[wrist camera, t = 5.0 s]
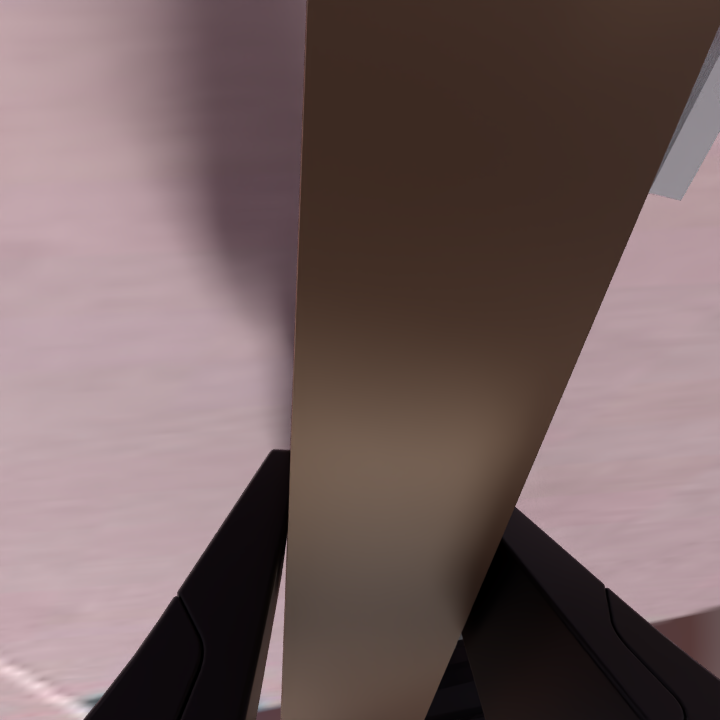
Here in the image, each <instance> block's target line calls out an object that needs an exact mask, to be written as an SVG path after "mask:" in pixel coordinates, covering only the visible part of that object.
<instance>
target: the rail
mask: <svg viewBox="0 0 720 720" xmlns="http://www.w3.org/2000/svg"><path fill="white" fill-rule="evenodd" d="M719 26H720V0H307V1H306V29H305V56H304V84H303V112H302V139H301V167H300V195H299V222H298V250H297V278H296V306H295V333H294V361H293V389H292V416H291V444H290V481H289V513H288V533H287V555H286V583H285V610H284V638H283V666H282V695H281V720H424V719H425V717H426V715H427V712H428V710H429V708H430V705H431V703H432V700H433V698H434V696H435V693H436V691H437V689H438V686H439V684H440V682H441V679H442V677H443V675H444V672H445V670H446V668H447V665H448V663H449V661H450V658H451V656H452V653H453V651H454V649H455V646H456V644H457V642H458V639H459V637H460V635H461V632H462V630H463V628H464V625H465V623H466V621H467V618H468V616H469V613H470V611H471V609H472V606H473V604H474V602H475V599H476V597H477V595H478V592H479V590H480V588H481V585H482V583H483V581H484V578H485V576H486V574H487V571H488V569H489V566H490V564H491V562H492V559H493V557H494V555H495V552H496V550H497V548H498V545H499V543H500V541H501V538H502V536H503V534H504V531H505V529H506V527H507V524H508V522H509V519H510V517H511V515H512V512H513V510H514V508H515V505H516V503H517V501H518V498H519V496H520V494H521V491H522V489H523V487H524V484H525V482H526V479H527V477H528V475H529V472H530V470H531V468H532V465H533V463H534V461H535V458H536V456H537V454H538V451H539V449H540V447H541V444H542V442H543V440H544V437H545V435H546V432H547V430H548V428H549V425H550V423H551V421H552V418H553V416H554V414H555V411H556V409H557V407H558V404H559V402H560V400H561V397H562V395H563V392H564V390H565V388H566V385H567V383H568V381H569V378H570V376H571V374H572V371H573V369H574V367H575V364H576V362H577V360H578V357H579V355H580V353H581V350H582V348H583V345H584V343H585V341H586V338H587V336H588V334H589V331H590V329H591V327H592V324H593V322H594V320H595V317H596V315H597V313H598V310H599V308H600V306H601V303H602V301H603V298H604V296H605V294H606V291H607V289H608V287H609V284H610V282H611V280H612V277H613V275H614V273H615V270H616V268H617V266H618V263H619V261H620V258H621V256H622V254H623V251H624V249H625V247H626V244H627V242H628V240H629V237H630V235H631V233H632V230H633V228H634V226H635V223H636V221H637V219H638V216H639V214H640V211H641V209H642V207H643V204H644V202H645V200H646V197H647V195H648V193H649V190H650V188H651V186H652V183H653V181H654V179H655V176H656V174H657V172H658V169H659V167H660V164H661V162H662V160H663V157H664V155H665V153H666V150H667V148H668V146H669V143H670V141H671V139H672V136H673V134H674V132H675V129H676V127H677V124H678V122H679V120H680V117H681V115H682V113H683V110H684V108H685V106H686V103H687V101H688V99H689V96H690V94H691V92H692V89H693V87H694V85H695V82H696V80H697V77H698V75H699V73H700V70H701V68H702V66H703V63H704V61H705V59H706V56H707V54H708V52H709V49H710V47H711V45H712V42H713V40H714V37H715V35H716V33H717V30H718V28H719Z"/></svg>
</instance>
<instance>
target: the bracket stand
mask: <svg viewBox="0 0 720 720" xmlns="http://www.w3.org/2000/svg"><path fill="white" fill-rule="evenodd" d="M719 132H720V26H719V28H718V30H717V33H716V35H715V37H714V40H713V42H712V45H711V47H710V49H709V52H708V54H707V56H706V59H705V61H704V63H703V66H702V68H701V70H700V73H699V75H698V77H697V80H696V82H695V85H694V87H693V89H692V92H691V94H690V96H689V99H688V101H687V103H686V106H685V108H684V110H683V113H682V115H681V117H680V120H679V122H678V124H677V127H676V129H675V132H674V134H673V136H672V139H671V141H670V143H669V146H668V148H667V150H666V153H665V155H664V157H663V160H662V162H661V164H660V167H659V169H658V172H657V174H656V176H655V179H654V181H653V183H652V186H651V188H650V190H649V194H653V195H658V196H662V197H667V198H671V199H676V200H680V201H681V200H682V198H683V196H684V194H685V193H686V191H687V189H688V187H689V185H690V184H691V182H692V180H693V178H694V176H695V175H696V173H697V171H698V169H699V168H700V166H701V164H702V162H703V160H704V159H705V157H706V155H707V153H708V151H709V150H710V148H711V146H712V144H713V142H714V141H715V139H716V137H717V135H718V133H719Z"/></svg>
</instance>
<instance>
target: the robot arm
mask: <svg viewBox="0 0 720 720" xmlns="http://www.w3.org/2000/svg"><path fill="white" fill-rule="evenodd" d="M289 481H290V450H279V449H273V450H271V451H270V453H269V454H268V456H267V457H266V459H265V460H264V462H263V463H262V465H261V466H260V468H259V469H258V471H257V472H256V474H255V475H254V477H253V478H252V480H251V481H250V483H249V484H248V486H247V487H246V489H245V490H244V492H243V493H242V495H241V496H240V498H239V500H238V501H237V503H236V504H235V506H234V507H233V509H232V510H231V512H230V513H229V515H228V516H227V518H226V519H225V521H224V522H223V524H222V525H221V527H220V528H219V530H218V531H217V533H216V534H215V536H214V537H213V539H212V540H211V542H210V543H209V545H208V546H207V548H206V550H205V551H204V553H203V554H202V556H201V557H200V559H199V560H198V562H197V563H196V565H195V566H194V568H193V569H192V571H191V572H190V574H189V575H188V577H187V578H186V580H185V581H184V583H183V584H182V586H181V587H180V589H179V590H178V592H177V596H175V597H174V598H173V599H172V601H171V602H170V604H169V605H168V607H167V608H166V610H165V611H164V613H163V614H162V616H161V617H160V619H159V620H158V622H157V623H156V625H155V626H154V627H153V629H152V630H151V632H150V633H149V635H148V636H147V637H146V639H145V640H144V642H143V643H142V645H141V646H140V647H139V649H138V650H137V652H136V653H135V655H134V656H133V657H132V659H131V660H130V661H129V662H128V664H127V665H126V666H125V668H124V669H123V670H122V671H121V673H120V674H119V675H118V677H117V678H116V679H115V680H114V682H113V683H112V684H111V686H110V687H109V688H108V690H107V691H106V692H105V693H104V695H103V696H102V697H101V699H100V700H99V701H98V702H97V703H96V705H95V706H94V707H93V708H92V710H91V711H90V712H89V713H88V715H87V716H86V717H85V718H84V720H256V716H257V710H258V705H259V699H260V694H261V688H262V682H263V677H264V671H265V666H266V660H267V654H268V649H269V643H270V638H271V632H272V626H273V621H274V615H275V610H276V604H277V598H278V593H279V587H280V582H281V576H282V569H283V562H284V555H285V547H286V540H287V533H288V513H289ZM424 720H720V679H719V678H717V677H716V676H715V675H713V674H712V673H711V672H710V671H708V670H707V669H706V668H704V667H703V666H702V665H701V664H699V663H698V662H697V661H695V660H694V659H693V658H691V657H690V656H689V655H688V654H687V653H685V652H684V651H683V650H682V649H680V648H679V647H678V646H677V645H676V644H674V643H673V642H672V641H670V640H669V639H668V638H667V637H666V636H664V635H663V634H662V633H660V632H659V631H658V630H657V629H656V628H655V627H653V626H652V625H651V624H650V623H649V622H647V621H646V620H645V619H644V618H643V617H642V616H640V615H639V614H638V613H637V612H636V611H634V610H633V609H632V608H631V607H630V606H629V605H627V604H626V603H625V602H624V601H623V600H622V599H621V598H619V597H618V596H617V595H616V594H615V593H614V592H613V591H611V590H610V589H609V588H605V585H604V584H603V583H602V582H601V581H600V580H599V579H597V578H596V577H595V576H594V575H593V574H592V573H591V572H589V571H588V570H587V569H586V568H585V567H584V566H583V565H581V564H580V563H579V562H578V561H577V560H576V559H575V558H573V557H572V556H571V555H570V554H569V553H568V552H567V551H565V550H564V549H563V548H562V547H561V546H560V545H559V544H557V543H556V542H555V541H554V540H553V539H552V538H551V537H549V536H548V535H547V534H546V533H545V532H544V531H542V530H541V529H540V528H539V527H538V526H537V525H536V524H534V523H533V522H532V521H531V520H530V519H529V518H528V517H526V516H525V515H524V514H523V513H522V512H521V511H520V510H518V509H517V508H516V507H515V508H514V510H513V512H512V515H511V517H510V519H509V522H508V524H507V527H506V529H505V531H504V534H503V536H502V538H501V541H500V543H499V545H498V548H497V550H496V552H495V555H494V557H493V559H492V562H491V564H490V566H489V569H488V571H487V574H486V576H485V578H484V581H483V583H482V585H481V588H480V590H479V592H478V595H477V597H476V599H475V602H474V604H473V606H472V609H471V611H470V613H469V616H468V618H467V621H466V623H465V625H464V628H463V630H462V632H461V635H460V637H459V639H458V642H457V644H456V646H455V649H454V651H453V653H452V656H451V658H450V661H449V663H448V665H447V668H446V670H445V672H444V675H443V677H442V679H441V682H440V684H439V686H438V689H437V691H436V693H435V696H434V698H433V700H432V703H431V705H430V708H429V710H428V712H427V715H426V717H425V719H424Z"/></svg>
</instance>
